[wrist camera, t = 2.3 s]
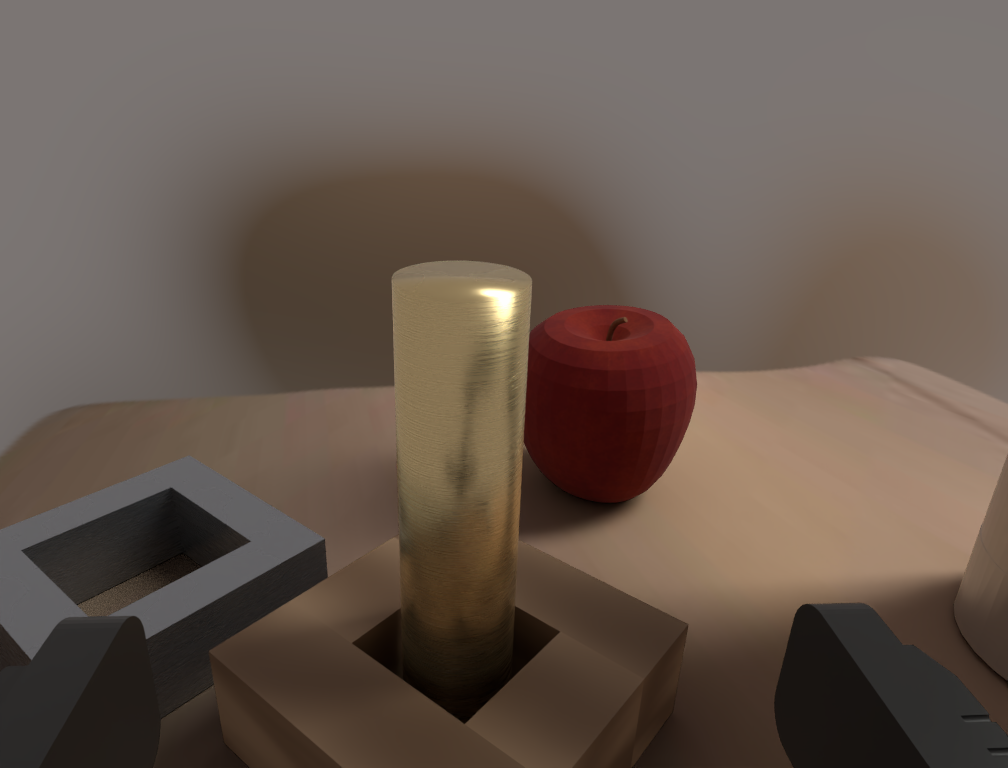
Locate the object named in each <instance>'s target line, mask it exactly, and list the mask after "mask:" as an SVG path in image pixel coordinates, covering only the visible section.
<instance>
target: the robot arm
mask: <svg viewBox="0 0 1008 768" xmlns="http://www.w3.org/2000/svg"><path fill="white" fill-rule="evenodd" d="M954 615H955V620H956V622H957V624H958V627H959V629H960V631H961V634H962V635H963V636H964V638H965V639H966V641H967V642H968V643H969V645H970V646H971V647H972V649H973V650H974V651H975V652H976V653H977V654H978V655H979V656H980V657H981V658H982V659H983V660H984V661H985V662H986V663H987V664H988V665H989V666H990V667H991V668H992V669H993V670H994V671H995V672H997V673H998V674H999V675H1001V676H1002V677H1003V678H1004V679H1006V680H1007V681H1008V455H1007V458H1006V460H1005V463H1004V466H1003V469H1002V471H1001V474H1000V477H999V480H998V482H997V485H996V488H995V491H994V493H993V496H992V499H991V502H990V504H989V507H988V510H987V513H986V516H985V518H984V521H983V523H982V525H981V528H980V531H979V534H978V537H977V539H976V542H975V545H974V548H973V551H972V554H971V556H970V559H969V562H968V565H967V568H966V571H965V573H964V576H963V579H962V582H961V585H960V588H959V591H958V593H957V596H956V599H955V602H954ZM774 709H775V719H776V725H777V730H778V733H779V737H780V740H781V743H782V745H783V747H784V750H785V752H786V754H787V756H788V758H789V760H790V761H791V763H792V765H793V767H794V768H1008V736H1007V734H1006V733H1005V732H1004V731H1003V730H1002V729H1001V727H1000V726H999V725H998V724H997V723H996V722H991V721H990V719H989V713H988V712H987V711H986V710H985V709H984V708H983V706H982V705H981V704H980V703H979V702H978V701H977V699H976V698H975V697H974V696H973V695H972V694H971V692H970V691H969V690H968V689H967V688H966V687H965V686H964V684H963V683H962V682H961V681H960V680H959V679H958V677H957V676H955V675H954V674H953V673H951V672H950V671H949V670H947V669H946V668H944V667H943V666H942V665H940V664H939V663H938V662H936V661H935V660H933V659H932V658H931V657H929V656H928V655H927V654H925V653H924V652H922V651H921V650H920V649H918V648H917V647H916V646H914V645H902V643H901V642H900V641H899V640H898V638H897V637H896V636H895V635H894V634H893V632H892V631H891V630H890V629H889V627H888V626H887V625H886V624H885V622H884V621H883V620H882V619H881V618H880V616H879V615H878V614H877V613H876V612H875V611H874V610H873V609H872V608H871V607H870V606H868V605H866V604H864V603H832V604H804V605H802V606H801V607H800V608H799V609H798V610H797V612H796V614H795V617H794V621H793V625H792V629H791V633H790V637H789V641H788V645H787V649H786V653H785V657H784V661H783V665H782V669H781V673H780V677H779V681H778V685H777V689H776V693H775V702H774ZM159 737H160V710H159V704H158V699H157V694H156V689H155V683H154V678H153V673H152V668H151V662H150V657H149V652H148V647H147V641H146V636H145V631H144V627H143V624H142V622H141V620H140V619H139V618H138V617H137V616H98V617H68V618H65V619H63V620H61V621H60V622H59V623H58V624H57V625H56V626H55V628H54V629H53V630H52V632H51V633H50V635H49V636H48V637H47V639H46V640H45V642H44V643H43V645H42V646H41V647H40V649H39V650H38V652H37V653H36V655H35V656H34V657H33V659H32V660H31V662H30V663H29V665H28V666H7V667H5V668H4V669H3V670H2V671H0V768H153V765H154V761H155V758H156V754H157V749H158V744H159Z"/></svg>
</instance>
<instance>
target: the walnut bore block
mask: <svg viewBox="0 0 1008 768" xmlns="http://www.w3.org/2000/svg"><path fill="white" fill-rule="evenodd" d="M687 629H688V624H686V623H684V622H682V621H680V620H678V619H676V618H674V617H672V616H670V615H668V614H666V613H664V612H662V611H660V610H658V609H656V608H654V607H652V606H650V605H648V604H646V603H644V602H642V601H640V600H638V599H636V598H634V597H632V596H630V595H628V594H626V593H624V592H622V591H620V590H618V589H616V588H614V587H612V586H610V585H608V584H606V583H604V582H602V581H600V580H598V579H596V578H594V577H592V576H590V575H588V574H586V573H584V572H582V571H580V570H578V569H576V568H574V567H572V566H570V565H568V564H566V563H564V562H562V561H560V560H558V559H556V558H554V557H552V556H550V555H548V554H546V553H544V552H542V551H540V550H538V549H536V548H534V547H532V546H530V545H528V544H526V543H524V542H522V541H520V540H518V558H517V577H516V596H515V615H514V634H513V653H512V672H511V680H510V681H509V682H508V683H507V684H506V685H505V686H504V687H503V688H502V689H501V690H500V691H499V692H498V693H496V694H495V695H494V696H493V697H492V698H491V699H490V700H489V701H488V702H487V703H486V704H485V705H484V706H483V707H482V708H481V709H480V710H479V711H478V712H477V713H476V714H475V715H474V716H473V717H472V718H471V719H470V720H468V721H467V722H466V723H465V724H464V723H462V722H461V721H459V720H458V719H457V718H455V717H454V716H452V715H451V714H450V713H448V712H447V711H446V710H444V709H443V708H441V707H440V706H439V705H437V704H436V703H434V702H433V701H432V700H430V699H429V698H427V697H426V696H425V695H423V694H422V693H420V692H419V691H418V690H416V689H415V688H413V687H412V686H411V685H409V684H408V683H406V682H405V681H404V680H403V662H402V627H401V591H400V555H399V534H398V535H397V536H395V537H393V538H392V539H390V540H388V541H387V542H385V543H383V544H382V545H380V546H379V547H377V548H375V549H374V550H372V551H370V552H369V553H367V554H366V555H364V556H362V557H361V558H359V559H357V560H356V561H354V562H353V563H351V564H349V565H348V566H346V567H344V568H343V569H341V570H340V571H338V572H336V573H335V574H333V575H331V576H330V577H328V578H327V579H325V580H323V581H322V582H320V583H318V584H317V585H315V586H314V587H312V588H310V589H309V590H307V591H305V592H304V593H302V594H301V595H299V596H297V597H296V598H294V599H292V600H291V601H289V602H288V603H286V604H284V605H283V606H281V607H279V608H278V609H276V610H275V611H273V612H271V613H270V614H268V615H266V616H265V617H263V618H262V619H260V620H258V621H257V622H255V623H253V624H252V625H250V626H249V627H247V628H245V629H244V630H242V631H240V632H239V633H237V634H236V635H234V636H232V637H231V638H229V639H227V640H226V641H224V642H222V643H221V644H219V645H218V646H216V647H214V648H213V649H211V650H209V657H210V663H211V669H212V675H213V681H214V687H215V693H216V699H217V704H218V710H219V716H220V722H221V728H222V734H223V740H224V743H225V744H226V745H227V746H228V747H229V748H230V749H231V750H232V751H233V752H234V753H235V754H236V755H237V756H238V757H239V758H240V759H241V760H242V761H243V762H244V763H245V764H246V765H247V766H248V767H249V768H632V767H633V766H634V764H635V763H636V762H637V760H638V759H639V757H640V756H641V755H642V753H643V752H644V750H645V749H646V748H647V746H648V745H649V744H650V742H651V741H652V739H653V738H654V737H655V735H656V734H657V733H658V731H659V730H660V728H661V727H662V726H663V724H664V723H665V721H666V720H667V719H668V717H669V716H670V715H671V713H672V712H673V708H674V702H675V697H676V691H677V685H678V680H679V674H680V669H681V663H682V657H683V652H684V646H685V640H686V635H687Z"/></svg>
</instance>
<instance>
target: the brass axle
mask: <svg viewBox="0 0 1008 768" xmlns="http://www.w3.org/2000/svg"><path fill="white" fill-rule="evenodd" d="M531 290H532V279H531V277H530V276H529V275H527V274H526V273H524V272H523V271H520V270H518V269H515V268H512V267H508V266H504V265H500V264H493V263H487V262H477V261H437V262H428V263H421V264H416V265H412V266H408V267H405V268H403V269H401V270H398V271H397V272H395V273H394V274H393V276H392V300H393V301H392V302H393V303H392V304H393V340H394V376H395V411H396V447H397V483H398V519H399V555H400V591H401V627H402V662H403V680H404V681H405V682H406V683H408V684H409V685H411V686H412V687H413V688H415V689H416V690H418V691H419V692H420V693H422V694H423V695H425V696H426V697H427V698H429V699H430V700H432V701H433V702H434V703H436V704H437V705H439V706H440V707H441V708H443V709H444V710H446V711H447V712H448V713H450V714H451V715H452V716H454V717H455V718H457V719H458V720H459V721H461V722H462V723H464V724H465V723H466V722H467V721H468V720H470V719H471V718H472V717H473V716H474V715H475V714H476V713H477V712H478V711H479V710H480V709H481V708H482V707H483V706H484V705H485V704H486V703H487V702H488V701H489V700H490V699H491V698H492V697H493V696H494V695H495V694H496V693H498V692H499V691H500V690H501V689H502V688H503V687H504V686H505V685H506V684H507V683H508V682H509V681H510V680H511V672H512V653H513V634H514V615H515V596H516V577H517V558H518V539H519V520H520V501H521V482H522V463H523V444H524V425H525V406H526V387H527V368H528V349H529V327H530V311H531V292H532V291H531Z"/></svg>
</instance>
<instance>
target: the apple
mask: <svg viewBox="0 0 1008 768" xmlns="http://www.w3.org/2000/svg"><path fill="white" fill-rule="evenodd" d="M696 389H697V379H696V369H695V361H694V357H693V355H692V352H691V350H690V348H689V345H688V343H687V341H686V339H685V337H684V335H683V334H682V333H681V332H680V331H679V330H678V329H677V328H675V326H674V325H673V324H672V323H671V322H670V321H669V320H668V319H666V318H665V317H663V316H661V315H660V314H657V313H655V312H652V311H649V310H645V309H641V308H636V307H629V306H617V305H597V306H585V307H578V308H573V309H568V310H564V311H562V312H559V313H556V314H555V315H553V316H551V317H550V318H548V319H546V320H545V321H543V322H542V323H540V324H539V325H537V326H536V327H535V328H534V329H533V330H532V331H531V332H530V334H529V349H528V368H527V387H526V406H525V425H524V444H525V446H526V448H527V450H528V452H529V454H530V456H531V458H532V460H533V461H534V463H535V464H536V465H537V467H538V468H539V469H540V471H541V472H542V473H543V474H544V475H545V476H546V477H547V478H548V479H549V480H550V481H552V482H553V483H554V484H555V485H557V486H558V487H559V488H561V489H562V490H564V491H566V492H568V493H570V494H572V495H574V496H577V497H579V498H583V499H586V500H590V501H596V502H605V503H615V502H622V501H626V500H629V499H632V498H634V497H636V496H638V495H640V494H641V493H643V492H645V491H646V490H648V489H649V488H650V487H651V486H652V485H653V484H654V483H655V482H656V481H657V480H658V479H659V478H660V477H661V476H662V475H663V473H664V472H665V470H666V469H667V467H668V466H669V464H670V463H671V461H672V459H673V457H674V456H675V454H676V452H677V450H678V448H679V446H680V444H681V442H682V440H683V437H684V435H685V432H686V430H687V428H688V425H689V423H690V419H691V416H692V412H693V409H694V405H695V398H696Z"/></svg>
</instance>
